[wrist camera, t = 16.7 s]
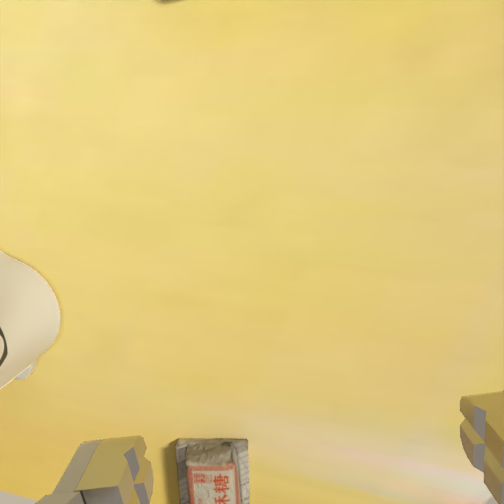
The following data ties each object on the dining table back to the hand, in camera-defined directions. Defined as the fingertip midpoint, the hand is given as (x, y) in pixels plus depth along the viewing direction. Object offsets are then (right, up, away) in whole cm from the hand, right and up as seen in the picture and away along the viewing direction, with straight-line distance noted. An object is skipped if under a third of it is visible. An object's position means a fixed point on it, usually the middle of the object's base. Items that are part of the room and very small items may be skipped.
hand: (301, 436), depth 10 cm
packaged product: (-7, -29, +47) cm, 56 cm away
